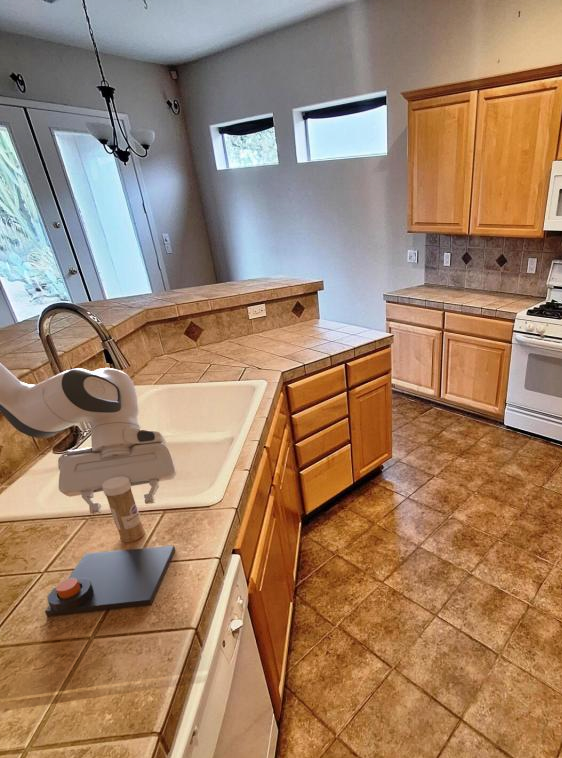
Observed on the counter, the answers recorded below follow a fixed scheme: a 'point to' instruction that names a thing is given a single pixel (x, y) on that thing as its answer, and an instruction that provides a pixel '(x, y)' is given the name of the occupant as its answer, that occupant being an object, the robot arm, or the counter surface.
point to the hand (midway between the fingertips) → (123, 508)
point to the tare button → (68, 588)
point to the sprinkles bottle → (123, 508)
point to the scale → (114, 581)
